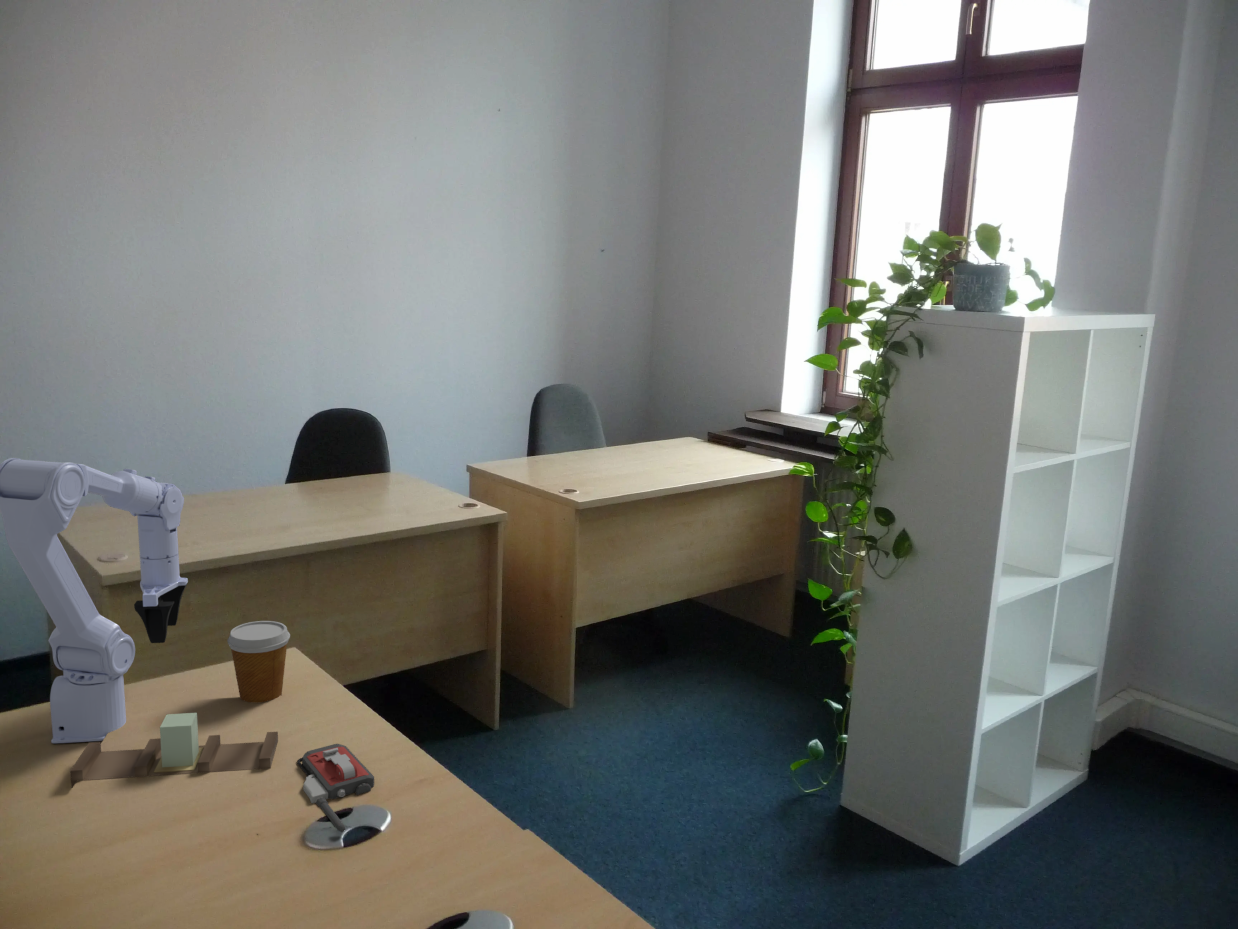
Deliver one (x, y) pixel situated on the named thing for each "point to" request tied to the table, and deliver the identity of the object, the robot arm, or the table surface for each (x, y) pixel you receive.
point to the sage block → (179, 739)
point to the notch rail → (150, 764)
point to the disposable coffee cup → (259, 659)
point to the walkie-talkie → (333, 777)
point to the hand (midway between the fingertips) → (163, 633)
